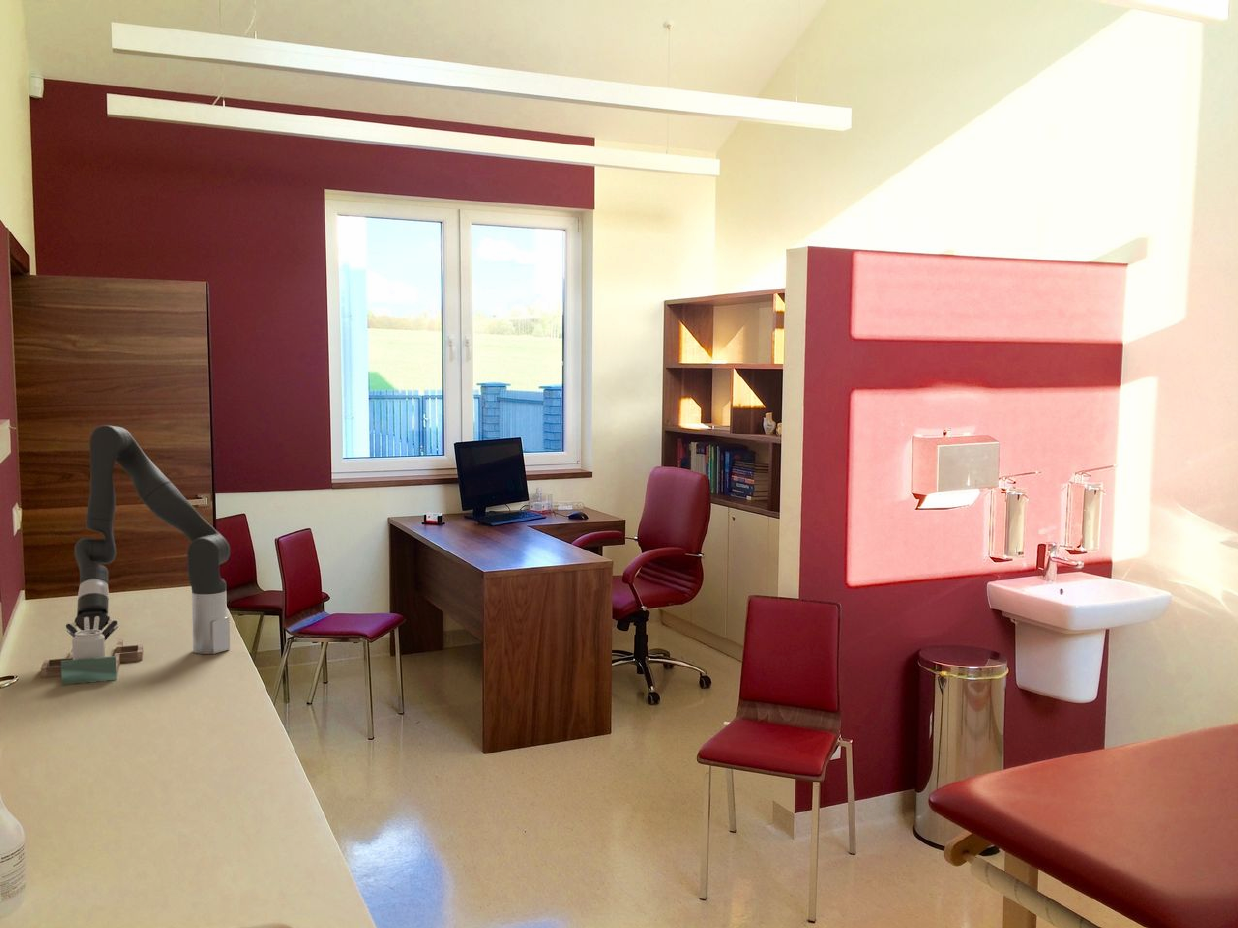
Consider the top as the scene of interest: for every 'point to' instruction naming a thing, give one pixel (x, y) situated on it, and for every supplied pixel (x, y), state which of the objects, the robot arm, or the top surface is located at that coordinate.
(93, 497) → the robot arm
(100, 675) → the trap channel
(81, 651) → the can
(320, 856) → the top surface
